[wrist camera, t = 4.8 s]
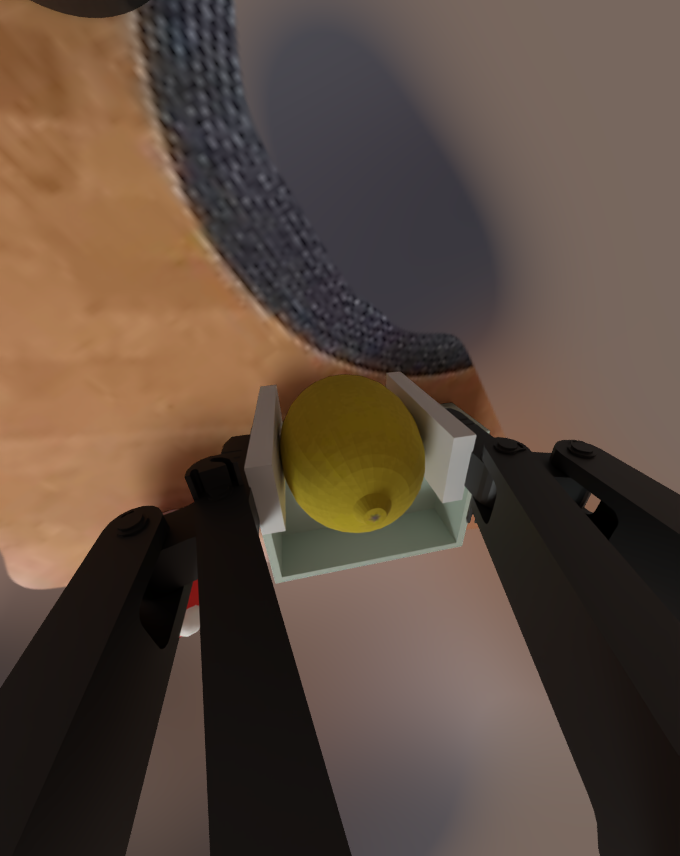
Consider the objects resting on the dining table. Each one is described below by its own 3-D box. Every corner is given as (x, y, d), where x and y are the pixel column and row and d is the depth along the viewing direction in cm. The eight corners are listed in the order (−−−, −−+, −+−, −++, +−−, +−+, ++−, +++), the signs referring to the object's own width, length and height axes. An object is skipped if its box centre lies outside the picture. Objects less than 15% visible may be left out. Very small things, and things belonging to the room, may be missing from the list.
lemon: (362, 335, 13) (445, 395, 6) (396, 425, 16) (480, 537, 9) (260, 385, 14) (232, 494, 7) (310, 465, 16) (328, 603, 9)
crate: (251, 428, 28) (243, 466, 22) (452, 402, 31) (489, 430, 25) (276, 534, 35) (275, 583, 30) (435, 506, 38) (461, 546, 33)
